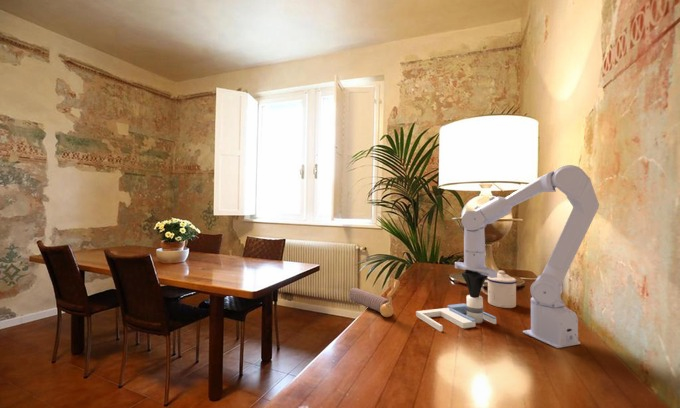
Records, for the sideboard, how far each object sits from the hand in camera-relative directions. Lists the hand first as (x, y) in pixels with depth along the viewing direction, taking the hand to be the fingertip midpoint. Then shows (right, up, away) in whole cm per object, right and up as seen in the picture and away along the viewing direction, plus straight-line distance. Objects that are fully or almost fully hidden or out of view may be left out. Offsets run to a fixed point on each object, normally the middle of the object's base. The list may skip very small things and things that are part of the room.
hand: (474, 297), depth 88 cm
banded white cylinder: (0, -7, 0) cm, 7 cm away
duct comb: (-6, -7, 0) cm, 9 cm away
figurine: (-25, -7, +2) cm, 26 cm away
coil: (-30, -7, +12) cm, 33 cm away
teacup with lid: (+16, -8, +16) cm, 24 cm away
